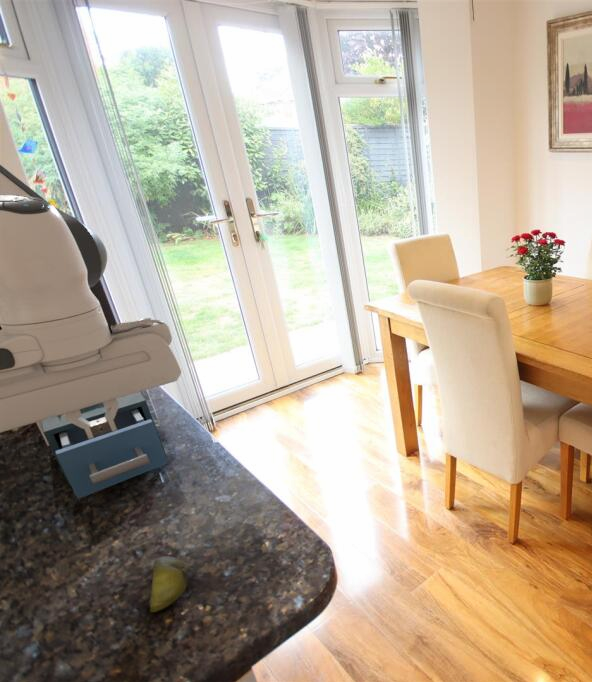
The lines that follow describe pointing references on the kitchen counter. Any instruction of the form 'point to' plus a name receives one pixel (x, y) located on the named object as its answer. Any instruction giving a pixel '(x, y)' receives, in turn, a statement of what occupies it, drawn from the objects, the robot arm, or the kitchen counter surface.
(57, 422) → the cabinet
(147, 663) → the kitchen counter surface
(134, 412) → the drawer
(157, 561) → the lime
